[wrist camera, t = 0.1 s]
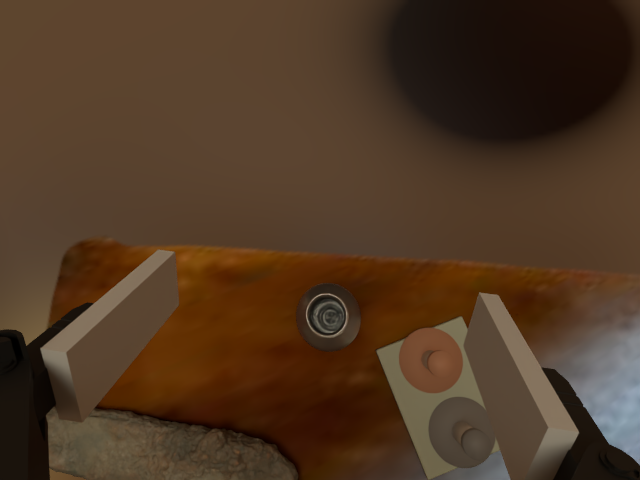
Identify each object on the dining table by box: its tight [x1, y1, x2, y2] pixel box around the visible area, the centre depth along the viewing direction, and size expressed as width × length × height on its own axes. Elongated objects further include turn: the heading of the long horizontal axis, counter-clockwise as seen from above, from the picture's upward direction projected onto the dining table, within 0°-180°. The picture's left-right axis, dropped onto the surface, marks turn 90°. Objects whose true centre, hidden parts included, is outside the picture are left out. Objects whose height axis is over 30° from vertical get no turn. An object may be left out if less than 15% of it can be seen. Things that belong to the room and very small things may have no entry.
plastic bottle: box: [296, 283, 361, 352], centre depth 42 cm, size 6×7×20 cm
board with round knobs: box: [376, 317, 500, 480], centre depth 46 cm, size 17×12×7 cm
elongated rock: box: [46, 406, 298, 480], centre depth 47 cm, size 35×5×10 cm
